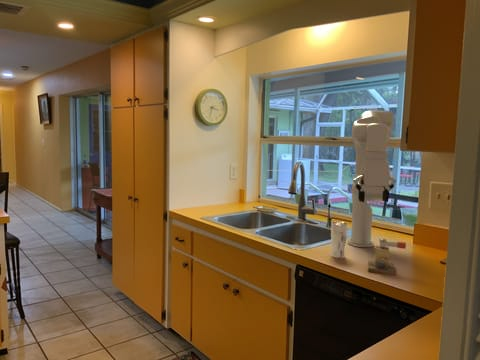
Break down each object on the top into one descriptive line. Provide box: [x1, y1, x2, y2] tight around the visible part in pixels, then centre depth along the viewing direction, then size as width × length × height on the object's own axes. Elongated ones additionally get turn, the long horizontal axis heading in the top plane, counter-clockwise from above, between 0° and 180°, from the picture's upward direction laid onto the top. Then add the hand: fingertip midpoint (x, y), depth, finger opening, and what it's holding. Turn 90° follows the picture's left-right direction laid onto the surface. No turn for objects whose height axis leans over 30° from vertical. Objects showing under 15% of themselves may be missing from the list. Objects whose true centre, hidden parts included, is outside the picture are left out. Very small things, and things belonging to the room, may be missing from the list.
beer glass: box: [330, 221, 348, 259], centre depth 174 cm, size 7×7×15 cm
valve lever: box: [379, 238, 407, 250], centre depth 155 cm, size 10×3×3 cm, turn 71°
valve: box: [367, 245, 396, 276], centre depth 157 cm, size 10×10×9 cm
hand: (373, 201), depth 148 cm, fingers open, 9 cm apart
